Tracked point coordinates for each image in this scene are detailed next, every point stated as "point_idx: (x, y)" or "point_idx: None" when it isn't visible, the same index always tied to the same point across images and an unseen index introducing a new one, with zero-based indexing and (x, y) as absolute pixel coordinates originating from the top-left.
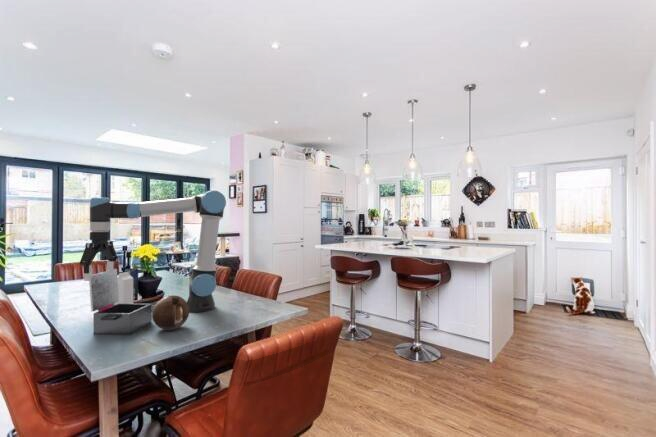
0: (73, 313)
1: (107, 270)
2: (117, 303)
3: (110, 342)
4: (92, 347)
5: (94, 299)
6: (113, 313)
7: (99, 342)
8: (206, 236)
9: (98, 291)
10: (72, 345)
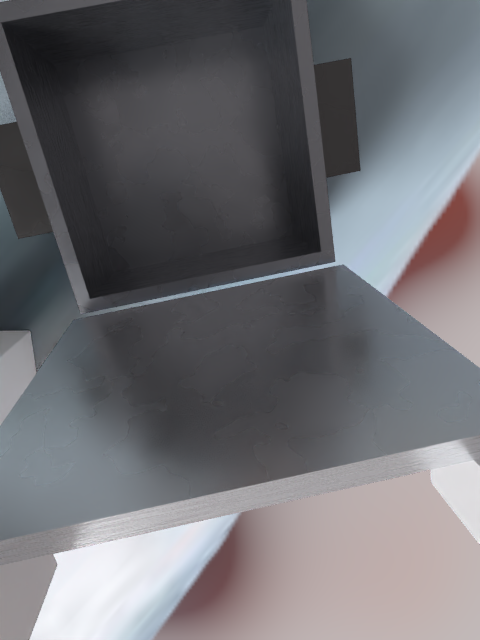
0: (83, 601)
1: (27, 626)
2: (2, 413)
3: (390, 31)
4: (459, 71)
5: (352, 294)
6: (313, 110)
7: (396, 98)
8: None
9: (316, 329)
10: (442, 201)
